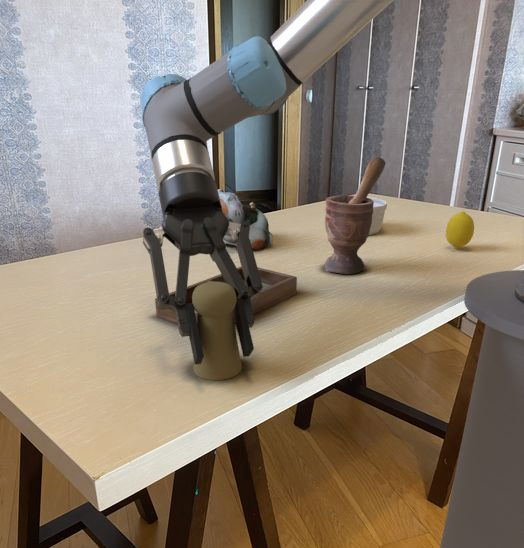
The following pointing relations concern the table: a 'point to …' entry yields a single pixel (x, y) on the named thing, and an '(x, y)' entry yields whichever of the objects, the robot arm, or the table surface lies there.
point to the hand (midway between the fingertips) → (224, 356)
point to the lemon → (460, 230)
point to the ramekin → (377, 214)
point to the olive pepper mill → (216, 331)
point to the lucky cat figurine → (239, 213)
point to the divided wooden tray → (271, 293)
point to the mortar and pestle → (351, 222)
